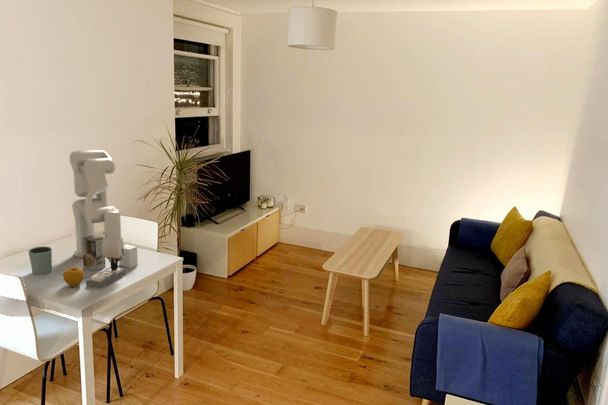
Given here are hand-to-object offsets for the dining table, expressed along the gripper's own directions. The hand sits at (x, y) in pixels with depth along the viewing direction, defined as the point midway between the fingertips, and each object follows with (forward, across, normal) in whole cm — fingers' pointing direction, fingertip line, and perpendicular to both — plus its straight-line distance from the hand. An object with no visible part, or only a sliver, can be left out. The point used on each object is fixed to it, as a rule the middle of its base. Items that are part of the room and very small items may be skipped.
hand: (114, 269), depth 231 cm
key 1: (+2, 0, -12) cm, 12 cm away
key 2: (+3, 0, 0) cm, 3 cm away
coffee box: (+4, -16, +6) cm, 18 cm away
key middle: (+3, 0, -6) cm, 7 cm away
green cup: (+4, -35, -9) cm, 37 cm away
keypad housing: (+3, 0, -6) cm, 7 cm away
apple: (+4, -10, -17) cm, 20 cm away
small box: (+4, -2, +15) cm, 15 cm away
